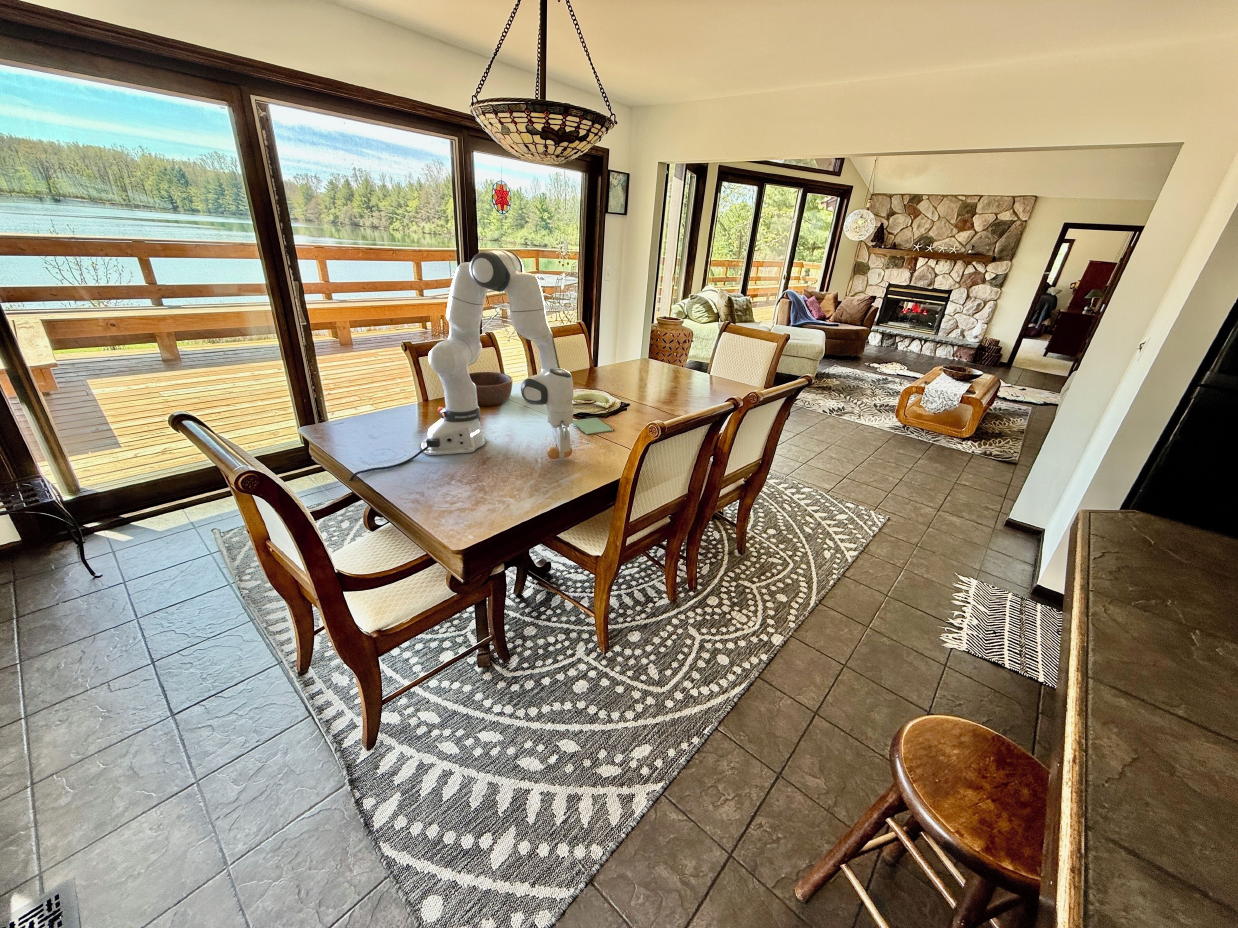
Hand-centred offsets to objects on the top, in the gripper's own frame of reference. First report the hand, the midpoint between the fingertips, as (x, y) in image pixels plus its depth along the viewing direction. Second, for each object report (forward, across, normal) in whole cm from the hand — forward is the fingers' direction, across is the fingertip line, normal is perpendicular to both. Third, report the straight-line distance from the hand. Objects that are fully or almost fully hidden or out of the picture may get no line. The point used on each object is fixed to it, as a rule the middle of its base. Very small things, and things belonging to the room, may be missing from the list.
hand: (559, 453), depth 170 cm
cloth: (+2, +30, -19) cm, 36 cm away
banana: (+2, +54, -24) cm, 59 cm away
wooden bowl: (+3, +71, +23) cm, 74 cm away
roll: (+2, 0, 0) cm, 2 cm away
